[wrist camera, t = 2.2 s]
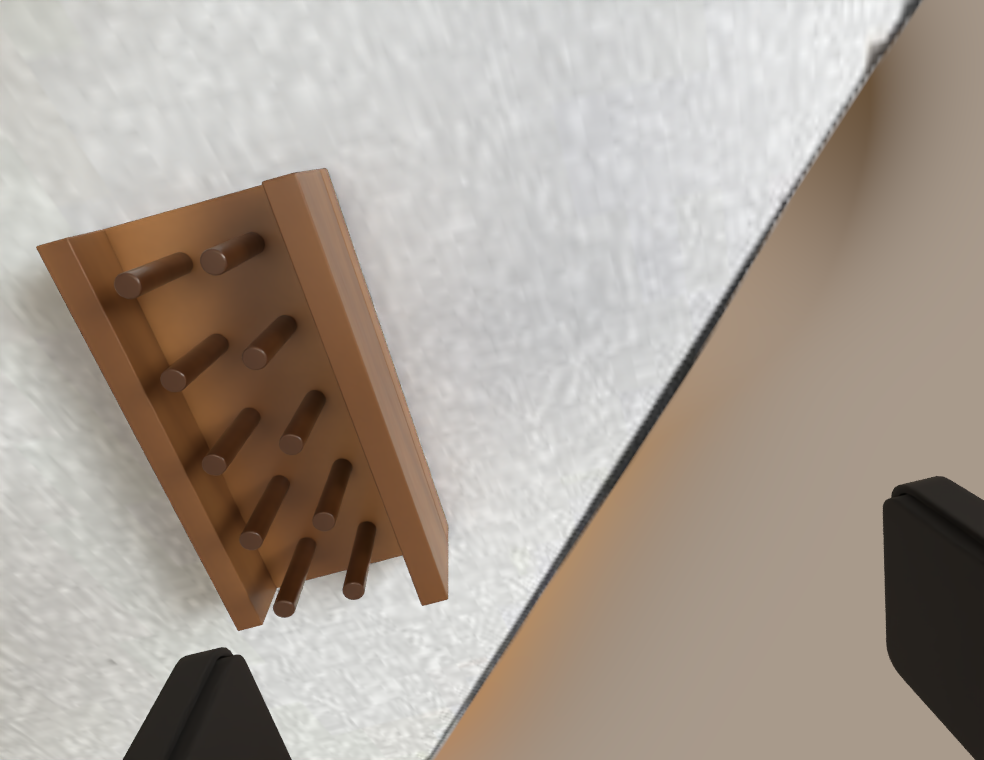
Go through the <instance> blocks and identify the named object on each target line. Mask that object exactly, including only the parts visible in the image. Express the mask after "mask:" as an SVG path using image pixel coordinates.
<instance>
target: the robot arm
mask: <svg viewBox="0 0 984 760" xmlns="http://www.w3.org/2000/svg"><path fill="white" fill-rule="evenodd" d="M883 532H884V533H883V535H884V571H885V604H886V605H885V608H886V643H887V651H888V654H889V658H890V660H891V662H892V664H893V666H894V667H895V669H896V671H897V672H898V673H899V675H900V676H901V677H902V678H903V679H904V681H906V683H907V684H908V685H909V686H910V687H911V688H912V689H913V691H914V692H915V693H916V694H917V695H918V696H919V697H920V698H921V700H922V701H923V702H924V703H925V704H926V705H927V706H928V707H929V708H930V710H931V711H932V712H933V713H934V714H935V715H936V716H937V717H938V719H939V720H940V721H941V722H942V723H943V724H944V725H945V726H946V728H947V729H948V730H949V731H950V732H951V733H952V734H953V735H954V736H955V737H956V739H957V740H958V741H959V742H960V743H961V744H962V745H963V746H964V748H965V749H966V750H967V751H968V752H969V753H970V754H971V755H972V757H973V758H974V759H975V760H984V500H982V499H981V498H979V497H977V496H976V495H974V494H972V493H971V492H969V491H967V490H966V489H964V488H963V487H961V486H959V485H958V484H956V483H954V482H953V481H951V480H949V479H947V478H945V477H941V476H936V477H931V478H927V479H923V480H919V481H915V482H910V483H906V484H902V485H898V486H897V487H895V488H894V490H893V492H892V497H891V498H890V499H887V500H886V501H885V502H884V504H883ZM123 760H292V759H291V757H290V755H289V753H288V751H287V749H286V747H285V744H284V742H283V740H282V738H281V736H280V734H279V732H278V729H277V727H276V725H275V723H274V721H273V719H272V717H271V714H270V712H269V710H268V708H267V706H266V704H265V702H264V699H263V697H262V695H261V693H260V691H259V689H258V687H257V684H256V682H255V680H254V678H253V676H252V674H251V672H250V669H249V667H248V665H247V663H246V661H245V659H244V658H243V657H242V656H241V655H233V654H232V653H231V651H230V650H228V649H227V648H223V647H221V648H217V649H212V650H208V651H204V652H200V653H196V654H191V655H187V656H184V657H183V658H181V659H180V660H179V661H178V663H177V664H176V665H175V667H174V669H173V671H172V673H171V674H170V676H169V678H168V680H167V681H166V683H165V685H164V687H163V689H162V690H161V692H160V694H159V696H158V698H157V699H156V701H155V703H154V705H153V706H152V708H151V710H150V712H149V714H148V715H147V717H146V719H145V721H144V723H143V724H142V726H141V728H140V730H139V731H138V733H137V735H136V737H135V739H134V740H133V742H132V744H131V746H130V748H129V749H128V751H127V753H126V755H125V756H124V758H123Z"/></svg>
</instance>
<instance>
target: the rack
mask: <svg viewBox="0 0 984 760" xmlns="http://www.w3.org/2000/svg"><path fill="white" fill-rule="evenodd" d="M36 248H37V250H38V252H39V254H40V256H41V258H42V260H43V262H44V263H45V265H46V267H47V269H48V271H49V273H50V275H51V277H52V279H53V280H54V282H55V284H56V286H57V288H58V290H59V292H60V294H61V296H62V298H63V299H64V301H65V303H66V305H67V307H68V309H69V311H70V313H71V315H72V317H73V318H74V320H75V322H76V324H77V326H78V328H79V330H80V332H81V334H82V336H83V337H84V339H85V341H86V343H87V345H88V347H89V349H90V351H91V353H92V355H93V356H94V358H95V360H96V362H97V364H98V366H99V368H100V370H101V372H102V374H103V375H104V377H105V379H106V381H107V383H108V385H109V387H110V389H111V391H112V393H113V394H114V396H115V398H116V400H117V402H118V404H119V406H120V408H121V410H122V412H123V413H124V415H125V417H126V419H127V421H128V423H129V425H130V427H131V429H132V431H133V432H134V434H135V436H136V438H137V440H138V442H139V444H140V446H141V448H142V449H143V451H144V453H145V455H146V457H147V459H148V461H149V463H150V465H151V467H152V468H153V470H154V472H155V474H156V476H157V478H158V480H159V482H160V484H161V486H162V487H163V489H164V491H165V493H166V495H167V497H168V499H169V501H170V503H171V505H172V506H173V508H174V510H175V512H176V514H177V516H178V518H179V520H180V522H181V524H182V525H183V527H184V529H185V531H186V533H187V535H188V537H189V539H190V541H191V543H192V544H193V546H194V548H195V550H196V552H197V554H198V556H199V558H200V560H201V562H202V563H203V565H204V567H205V569H206V571H207V573H208V575H209V577H210V579H211V581H212V582H213V584H214V586H215V588H216V590H217V592H218V594H219V596H220V598H221V600H222V601H223V603H224V605H225V607H226V609H227V611H228V613H229V615H230V617H231V619H232V620H233V622H234V624H235V626H236V628H237V630H238V631H240V630H244V629H248V628H252V627H256V626H260V625H262V624H263V622H264V620H265V617H266V615H267V612H268V610H269V607H270V604H271V602H272V599H273V597H274V594H275V592H276V588H279V587H280V590H279V592H278V595H277V598H276V600H275V603H274V605H273V610H274V613H275V614H276V615H277V616H279V617H284V618H285V617H289V616H291V615H292V614H293V613H294V612H295V609H296V606H297V603H298V600H299V597H300V594H301V591H302V588H303V585H304V583H305V581H306V580H309V579H313V578H317V577H321V576H325V575H329V574H332V573H336V572H340V571H344V570H347V573H346V577H345V581H344V585H343V594H344V596H345V597H346V598H348V599H351V600H356V599H359V598H361V597H362V596H363V595H364V592H365V587H366V581H367V576H368V571H369V566H370V564H371V563H375V562H379V561H383V560H386V559H390V558H394V557H398V556H402V555H403V557H404V560H405V563H406V565H407V568H408V571H409V573H410V576H411V578H412V581H413V584H414V586H415V589H416V592H417V594H418V597H419V600H420V602H421V605H422V606H424V605H428V604H432V603H436V602H440V601H444V600H447V599H448V524H447V521H446V518H445V515H444V512H443V509H442V506H441V503H440V500H439V497H438V495H437V492H436V489H435V486H434V483H433V480H432V477H431V474H430V471H429V468H428V465H427V462H426V459H425V456H424V453H423V450H422V447H421V444H420V441H419V439H418V436H417V433H416V430H415V427H414V424H413V421H412V418H411V415H410V412H409V409H408V406H407V403H406V400H405V397H404V394H403V391H402V388H401V385H400V383H399V380H398V377H397V374H396V371H395V368H394V365H393V362H392V359H391V356H390V353H389V350H388V347H387V344H386V341H385V338H384V335H383V332H382V329H381V327H380V324H379V321H378V318H377V315H376V312H375V309H374V306H373V303H372V300H371V297H370V294H369V291H368V288H367V285H366V282H365V279H364V276H363V273H362V271H361V268H360V265H359V262H358V259H357V256H356V253H355V250H354V247H353V244H352V241H351V238H350V235H349V232H348V229H347V226H346V223H345V220H344V217H343V215H342V212H341V209H340V206H339V203H338V200H337V197H336V194H335V191H334V188H333V185H332V182H331V179H330V176H329V173H328V170H327V169H326V168H323V169H316V170H309V171H302V172H295V173H291V174H287V175H284V176H280V177H277V178H273V179H270V180H266V181H263V182H262V185H260V186H256V187H253V188H249V189H246V190H242V191H239V192H235V193H231V194H228V195H224V196H221V197H217V198H214V199H210V200H206V201H203V202H199V203H196V204H192V205H189V206H185V207H181V208H178V209H174V210H171V211H167V212H164V213H160V214H157V215H153V216H149V217H146V218H142V219H139V220H135V221H132V222H128V223H124V224H121V225H117V226H114V227H110V228H107V229H103V230H98V231H94V232H90V233H85V234H81V235H77V236H72V237H68V238H64V239H60V240H57V241H53V242H50V243H46V244H43V245H39V246H37V247H36Z"/></svg>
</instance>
